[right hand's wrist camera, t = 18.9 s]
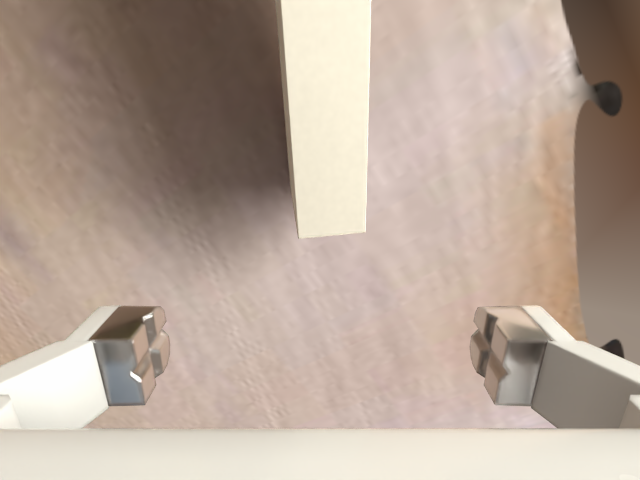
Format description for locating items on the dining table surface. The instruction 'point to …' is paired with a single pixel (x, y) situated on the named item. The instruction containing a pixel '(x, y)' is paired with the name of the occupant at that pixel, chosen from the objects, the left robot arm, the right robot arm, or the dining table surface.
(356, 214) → the bar
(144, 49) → the dining table surface
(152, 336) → the right robot arm
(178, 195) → the dining table surface
